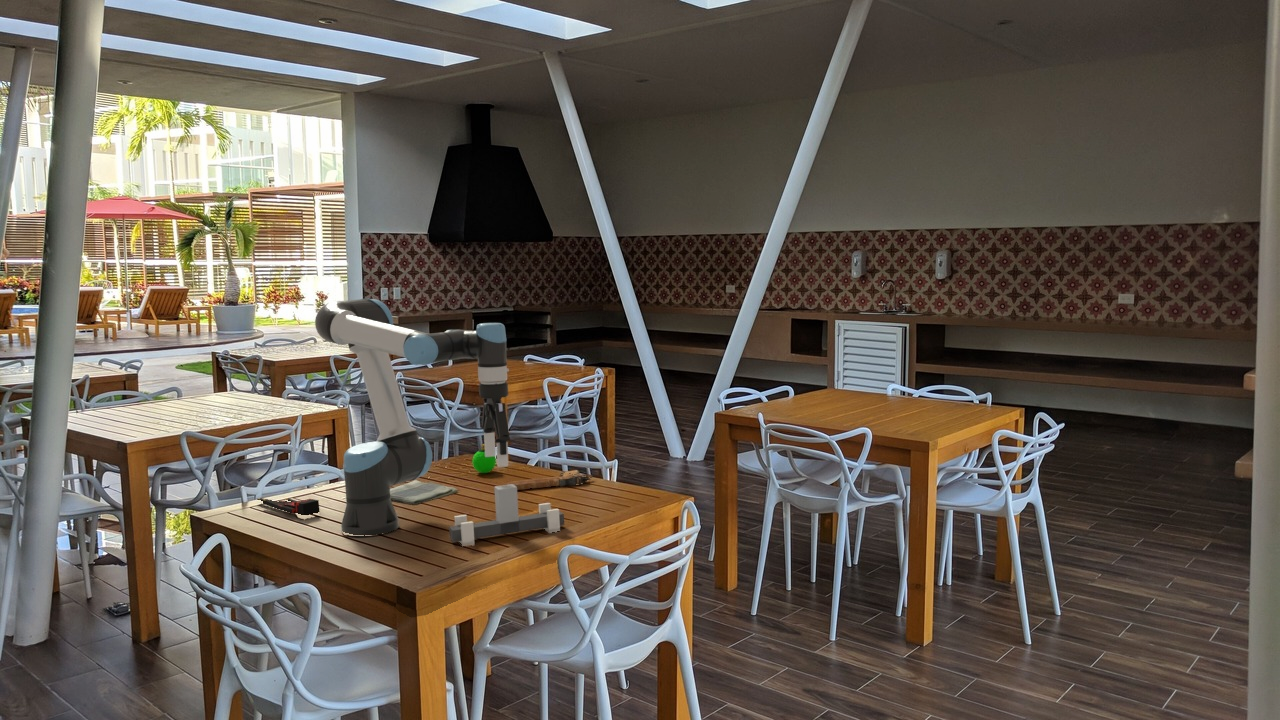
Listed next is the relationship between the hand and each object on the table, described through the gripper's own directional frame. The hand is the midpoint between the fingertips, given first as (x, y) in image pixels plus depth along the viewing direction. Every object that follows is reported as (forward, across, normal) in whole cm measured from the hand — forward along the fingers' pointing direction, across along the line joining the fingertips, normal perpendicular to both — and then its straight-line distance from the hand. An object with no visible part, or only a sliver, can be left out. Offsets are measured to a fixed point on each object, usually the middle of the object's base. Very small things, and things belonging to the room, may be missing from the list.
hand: (496, 461), depth 247 cm
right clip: (+19, -4, -13) cm, 23 cm away
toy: (+21, +56, +51) cm, 78 cm away
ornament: (+20, +73, -14) cm, 77 cm away
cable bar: (+18, -4, -1) cm, 19 cm away
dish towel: (+21, +54, +12) cm, 59 cm away
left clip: (+19, -4, +10) cm, 22 cm away
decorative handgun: (+20, +47, -28) cm, 58 cm away
